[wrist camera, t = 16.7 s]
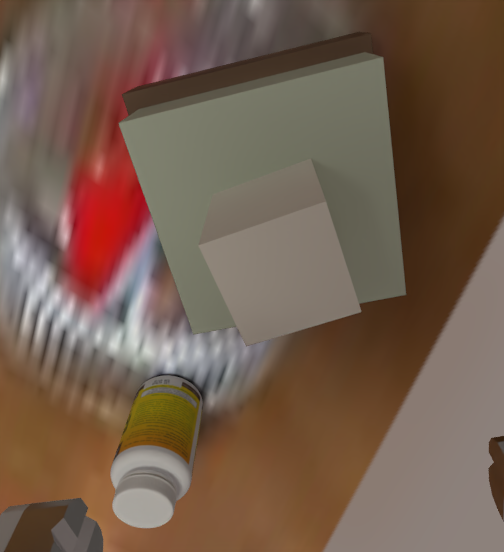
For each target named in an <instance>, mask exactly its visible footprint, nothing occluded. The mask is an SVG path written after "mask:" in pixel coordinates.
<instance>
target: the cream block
mask: <svg viewBox="0 0 504 552" xmlns="http://www.w3.org/2000/svg"><path fill="white" fill-rule="evenodd" d="M198 246H199V248H200V250H201V252H202V254H203V257H204V259H205V261H206V263H207V265H208V267H209V269H210V271H211V273H212V276H213V278H214V280H215V282H216V284H217V286H218V288H219V290H220V292H221V294H222V297H223V299H224V301H225V303H226V305H227V307H228V309H229V311H230V313H231V315H232V318H233V320H234V322H235V324H236V326H237V328H238V330H239V332H240V334H241V336H242V339H243V341H244V343H245V345H246V346H249V345H253V344H256V343H259V342H263V341H266V340H269V339H273V338H276V337H279V336H283V335H286V334H290V333H293V332H296V331H300V330H303V329H306V328H310V327H313V326H316V325H320V324H323V323H326V322H330V321H333V320H336V319H340V318H343V317H347V316H350V315H353V314H357V313H360V312H361V308H360V305H359V302H358V299H357V296H356V293H355V290H354V287H353V284H352V281H351V277H350V274H349V271H348V268H347V265H346V262H345V259H344V256H343V253H342V249H341V246H340V243H339V240H338V237H337V234H336V231H335V228H334V225H333V222H332V218H331V215H330V212H329V209H328V206H327V203H326V200H325V197H324V194H323V191H322V189H321V186H320V183H319V180H318V177H317V174H316V172H315V169H314V166H313V163H312V160H311V158H310V159H307V160H305V161H302V162H299V163H297V164H294V165H291V166H288V167H286V168H283V169H280V170H277V171H275V172H272V173H269V174H267V175H264V176H261V177H258V178H256V179H253V180H250V181H248V182H245V183H242V184H239V185H237V186H234V187H231V188H228V189H226V190H223V191H220V192H218V193H215V194H213V195H212V199H211V203H210V206H209V210H208V213H207V217H206V220H205V224H204V227H203V231H202V234H201V238H200V241H199V245H198Z"/></svg>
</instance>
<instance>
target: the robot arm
mask: <svg viewBox="0 0 504 552" xmlns="http://www.w3.org/2000/svg"><path fill="white" fill-rule="evenodd" d="M489 453H490V455H491V457H492V459H493V461H494V463H493V464H492V465H491V466H490V467H489V482H490V487H491V491H492V495H493V498H494V501H495V503H496V506H497V509H498V511H499V513H500V515H501V517H502V519H503V521H504V436H500V437H494V438H491V440H490V442H489ZM87 509H88V507H87V506H86V505H85V503H84V502H83V500H82V499H81V498H77V499H68V500H59V501H50V502H41V503H32V504H25V505H17V506H10V507H8V508H7V509H6V510H5V511H4V512H3V513H2V514H1V515H0V552H103V536H102V532H101V529H100V527H99V525H98V524H97V522H96V521H94V520H92V519H91V518H89V517H87V516H85V515H86V512H87Z"/></svg>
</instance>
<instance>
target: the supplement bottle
mask: <svg viewBox="0 0 504 552" xmlns="http://www.w3.org/2000/svg"><path fill="white" fill-rule="evenodd" d="M202 408H203V402H202V397H201V395H200V393H199V391H198V390H197V388H196V387H195V386H194V385H193V384H191V383H190V382H189V381H187V380H185V379H183V378H180V377H177V376H170V375H163V376H157V377H154V378H151V379H149V380H148V381H146V382H145V383H144V384H142V385H141V387H140V388H139V389H138V391H137V394H136V396H135V399H134V402H133V405H132V408H131V411H130V414H129V417H128V419H127V422H126V425H125V428H124V431H123V434H122V437H121V440H120V443H119V446H118V449H117V452H116V455H115V458H114V461H113V464H112V467H111V480H112V483H113V485H114V487H115V489H116V491H115V496H114V500H113V511H114V513H115V514H116V516H117V517H118V518H119V519H120V520H122V521H123V522H125V523H127V524H129V525H131V526H134V527H139V528H154V527H158V526H161V525H163V524H165V523H167V522H168V521H169V520H170V519H171V517H172V515H173V512H174V507H175V503H176V501H177V500H179V499H180V498H181V497H183V496H184V495H185V493H186V492H187V491H188V489H189V487H190V484H191V480H192V473H193V467H194V461H195V455H196V448H197V442H198V436H199V429H200V422H201V416H202Z"/></svg>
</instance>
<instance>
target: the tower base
mask: <svg viewBox="0 0 504 552" xmlns="http://www.w3.org/2000/svg"><path fill="white" fill-rule="evenodd" d="M363 52H366V53H370V54H373V48H372V38H371V33H362V32H357V33H353V34H349V35H345V36H341V37H337V38H333V39H329V40H325V41H321V42H316V43H312V44H308V45H304V46H300V47H296V48H292V49H288V50H284V51H280V52H276V53H272V54H268V55H264V56H260V57H256V58H252V59H247V60H243V61H239V62H235V63H231V64H227V65H223V66H219V67H215V68H211V69H207V70H203V71H199V72H195V73H191V74H187V75H183V76H178V77H174V78H170V79H166V80H162V81H158V82H154V83H150V84H146V85H142V86H138V87H136V88H134V89H132V90H130V91H128V92H126V93H124V94H122V96H123V99H124V102H125V105H126V108H127V111H128V114H129V115H131V114H132V113H134V112H135V111H137V110H138V109H141V108H145V107H149V106H153V105H157V104H161V103H165V102H169V101H173V100H177V99H181V98H185V97H189V96H193V95H197V94H201V93H205V92H209V91H213V90H217V89H221V88H225V87H229V86H233V85H237V84H241V83H244V82H248V81H252V80H256V79H260V78H264V77H268V76H272V75H276V74H280V73H284V72H288V71H292V70H296V69H300V68H304V67H308V66H312V65H316V64H320V63H324V62H328V61H332V60H336V59H340V58H344V57H348V56H352V55H356V54H360V53H363Z"/></svg>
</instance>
